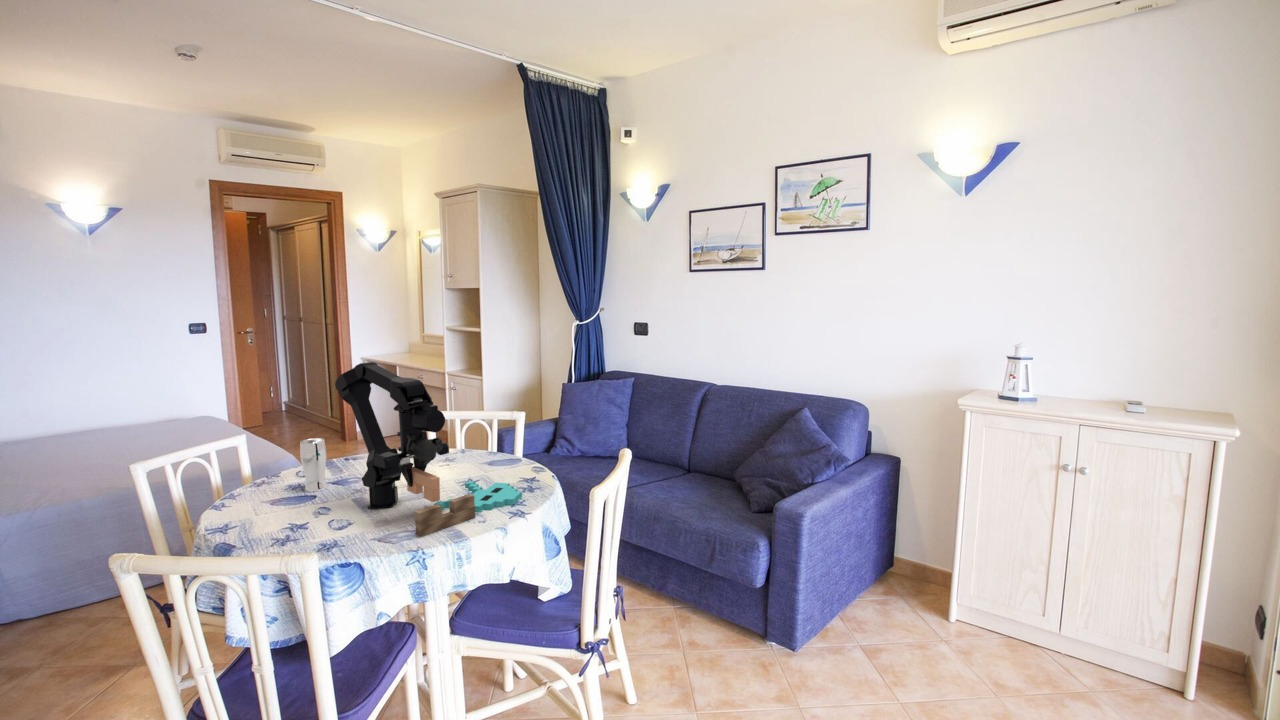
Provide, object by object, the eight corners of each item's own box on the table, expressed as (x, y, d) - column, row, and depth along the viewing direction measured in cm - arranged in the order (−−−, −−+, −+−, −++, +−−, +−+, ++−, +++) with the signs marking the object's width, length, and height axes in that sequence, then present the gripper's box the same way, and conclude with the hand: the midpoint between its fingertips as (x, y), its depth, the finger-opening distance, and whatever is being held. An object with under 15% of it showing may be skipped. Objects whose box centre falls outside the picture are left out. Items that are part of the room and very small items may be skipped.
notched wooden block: (420, 537, 152) (419, 513, 151) (416, 535, 153) (414, 511, 153) (475, 517, 164) (474, 495, 164) (470, 515, 166) (469, 493, 165)
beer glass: (297, 491, 188) (293, 442, 186) (314, 484, 195) (311, 437, 193) (317, 493, 186) (313, 443, 185) (334, 485, 193) (330, 438, 191)
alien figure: (434, 511, 171) (503, 515, 167) (434, 503, 170) (502, 507, 166) (468, 488, 190) (530, 491, 186) (468, 481, 190) (530, 484, 186)
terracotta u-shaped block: (439, 500, 161) (439, 477, 160) (433, 502, 160) (432, 479, 159) (414, 488, 169) (413, 466, 168) (407, 490, 167) (406, 468, 166)
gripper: (394, 439, 152) (398, 501, 154) (459, 425, 167) (462, 482, 169) (371, 433, 159) (375, 492, 161) (435, 420, 174) (438, 474, 176)
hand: (414, 485), depth 166 cm, fingers closed on terracotta u-shaped block, 2 cm apart
